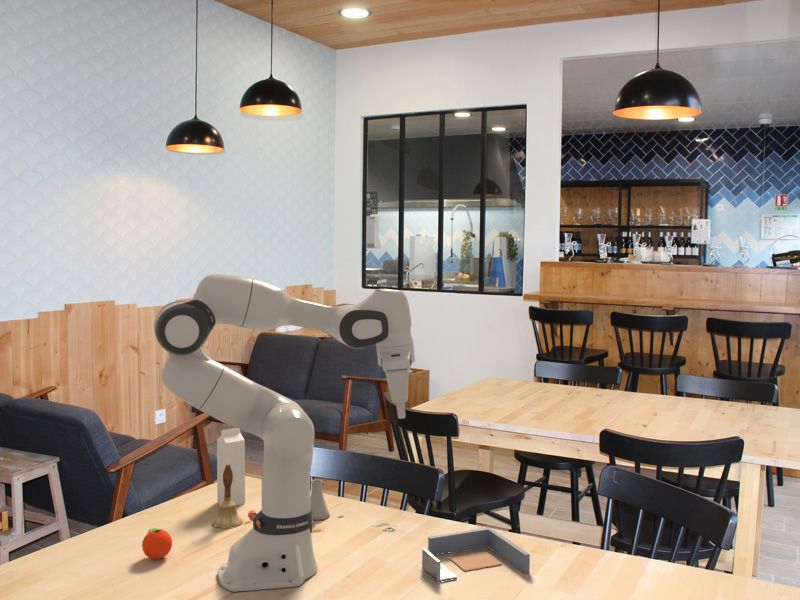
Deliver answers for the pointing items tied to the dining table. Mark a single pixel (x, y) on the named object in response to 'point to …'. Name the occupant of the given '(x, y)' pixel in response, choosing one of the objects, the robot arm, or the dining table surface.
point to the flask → (318, 501)
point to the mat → (475, 561)
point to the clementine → (157, 543)
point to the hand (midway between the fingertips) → (401, 413)
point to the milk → (231, 464)
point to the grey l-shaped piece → (480, 545)
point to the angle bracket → (435, 567)
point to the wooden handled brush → (227, 505)
